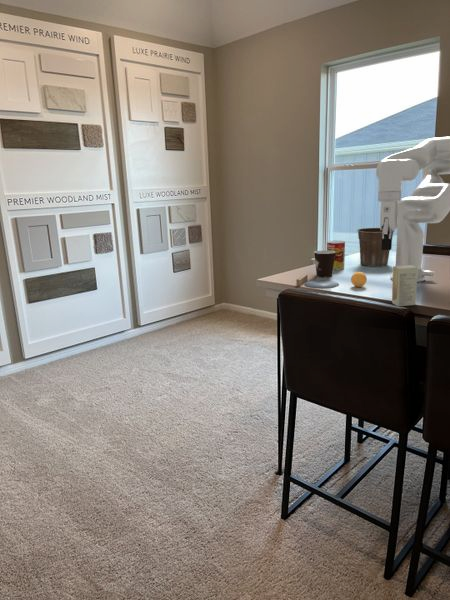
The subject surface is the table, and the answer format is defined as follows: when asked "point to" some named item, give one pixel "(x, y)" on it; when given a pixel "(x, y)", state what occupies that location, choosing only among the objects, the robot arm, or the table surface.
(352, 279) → the ball
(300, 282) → the stopper rail
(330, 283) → the disc
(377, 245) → the plant pot
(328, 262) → the coffee mug
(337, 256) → the canned food
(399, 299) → the skincare box
